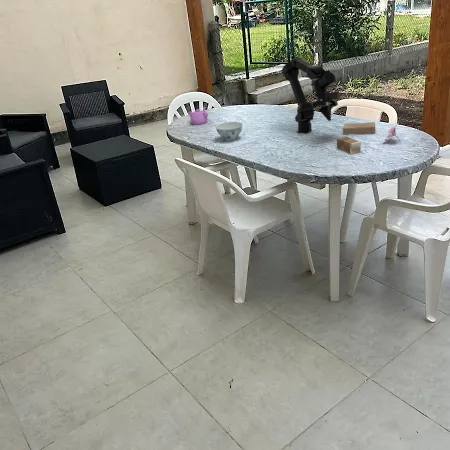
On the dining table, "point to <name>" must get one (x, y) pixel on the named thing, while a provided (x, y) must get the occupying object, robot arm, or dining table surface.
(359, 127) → the brick
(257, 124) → the dining table surface
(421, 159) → the dining table surface
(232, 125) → the chinaware
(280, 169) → the dining table surface
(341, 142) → the walnut block
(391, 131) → the lily
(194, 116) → the teapot
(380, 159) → the dining table surface
